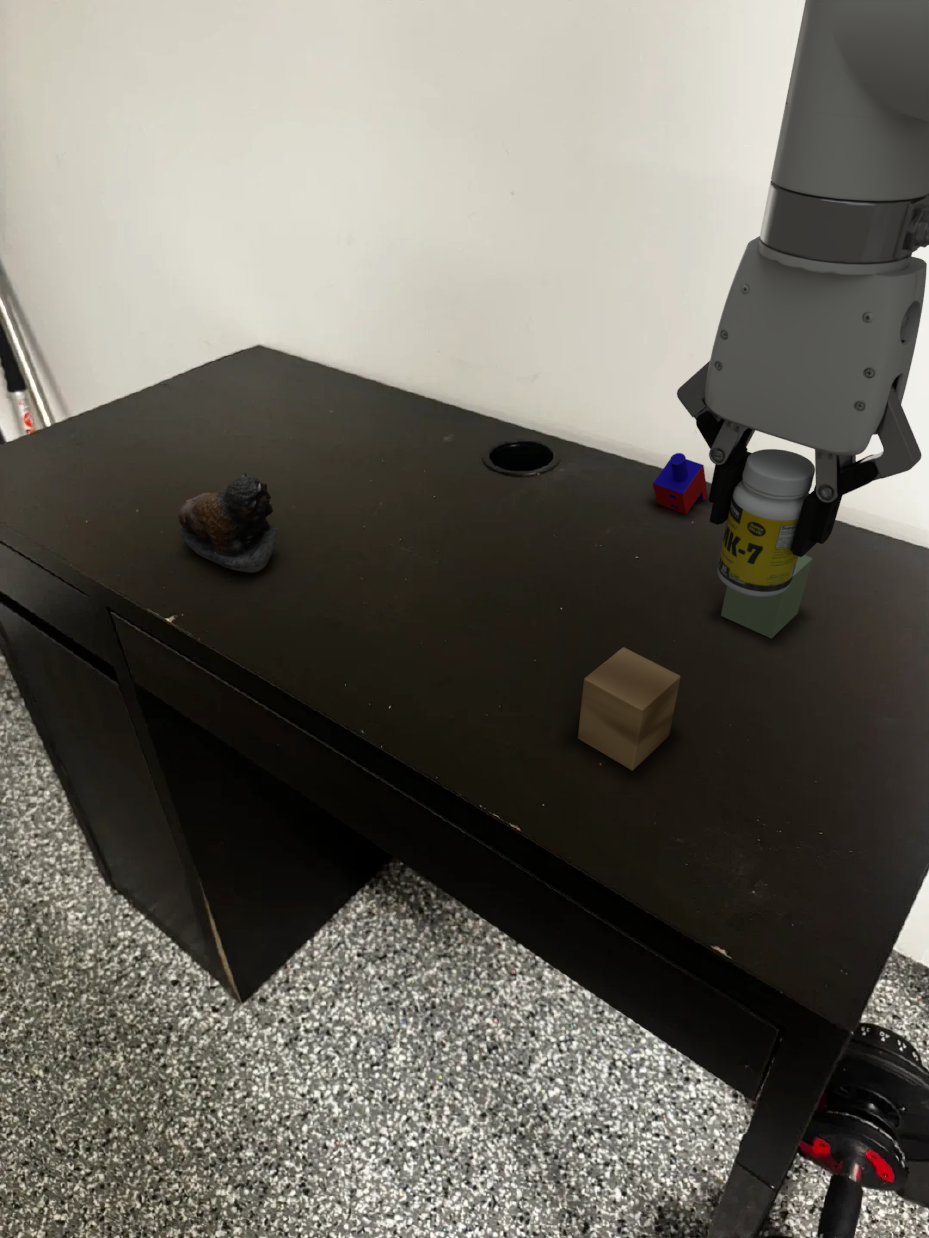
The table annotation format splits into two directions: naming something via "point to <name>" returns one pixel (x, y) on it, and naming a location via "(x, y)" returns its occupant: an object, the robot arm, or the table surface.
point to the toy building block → (680, 484)
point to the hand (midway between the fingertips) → (765, 528)
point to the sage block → (768, 604)
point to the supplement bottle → (764, 523)
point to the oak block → (627, 707)
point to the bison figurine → (231, 525)
